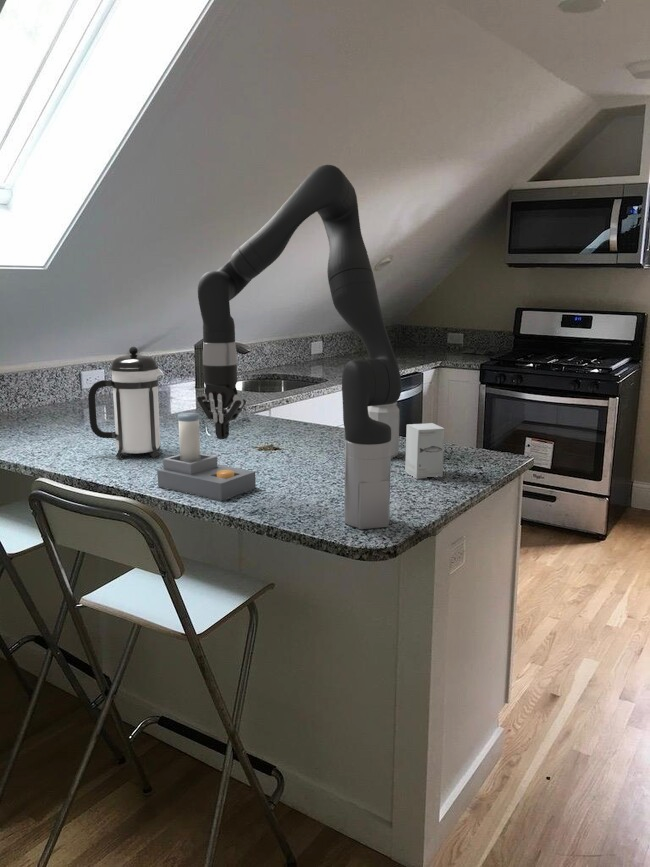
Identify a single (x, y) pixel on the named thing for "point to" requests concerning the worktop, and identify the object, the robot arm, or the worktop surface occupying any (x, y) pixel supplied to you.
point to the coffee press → (132, 404)
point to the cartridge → (189, 437)
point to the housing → (204, 478)
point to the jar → (388, 422)
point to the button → (225, 474)
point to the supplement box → (424, 450)
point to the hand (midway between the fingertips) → (222, 438)
